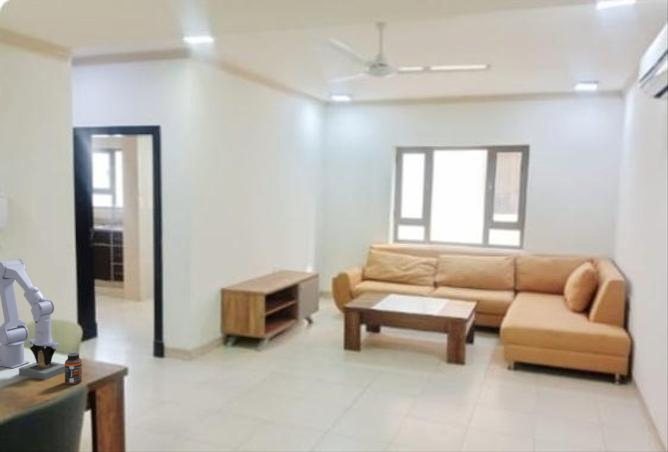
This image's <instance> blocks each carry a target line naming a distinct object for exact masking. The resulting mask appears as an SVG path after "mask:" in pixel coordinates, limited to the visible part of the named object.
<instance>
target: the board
mask: <svg viewBox="0 0 668 452" xmlns="http://www.w3.org/2000/svg"><path fill="white" fill-rule="evenodd" d="M63 373H64V374H65V363H59V362H55V361H51V364H49V367H47V368H45V369H40V368H38V364H37V362H36V361H35V362H33V363H29V364H28V365H25V366H22V367H18V374H19V376H25V377H30V378H33V379H39V380H45V381H47V380H48V379H51V378H53V377H56V376H59V375H61V374H63Z"/></svg>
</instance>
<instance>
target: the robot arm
mask: <svg viewBox="0 0 668 452" xmlns="http://www.w3.org/2000/svg"><path fill="white" fill-rule="evenodd" d="M26 270H27V266H26V264H25V262H24V261H23V260H22V259H19V258H18V259H14V260H13V259H12V260H5V261H0V302H1V307H2V313H3V314H2V315H3V319H4V322H3V324H1V325H0V367H5V368H9V369H15V368H17V367H18V368H19V366H23V365H26V364H28V363H29V364H30V361H29V360H25V343H26V340H27V339H28V340H27V345H32V346H30V347H29V350H30V351H31V352H32V354H33V355H34V356H33V357H34V359H35V363H36V362H37V364H38V352H39V351H42V352H43V355H44V362H45V365H49V364H51V362H52V359H53V357H54V354H55V351H56V350H57V349H59V348H60V344H59V342H56V341H54V338H52V316H51V315H52V314H53V313H54V312H55V305H54V302H53V301H52V300H51V299H48V298H46V297H45V296H44V294H43V293H42V291H41V290H40V289H39V287H37V286H34V284H33V283H32V281H31V280H30V278H29V276H28V274H27V272H26ZM15 281H16V283H17V284H18V285H19V286H20V287H21V288H22V290H23V291H24V292H23V296H24V298H25V300H26V301H27V303H28V304H29V305H30V307H31V309H30V312H31V315H32V320H33V321H34V338H29V336H30V335H29V334H30V331H29V329H28V328H27V327H28V326H27V325H26V322H25V321H23V320H21V319H20V318H19V311H18V306H17V299H16V294H15V289H14V282H15Z"/></svg>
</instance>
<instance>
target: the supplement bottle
mask: <svg viewBox="0 0 668 452" xmlns="http://www.w3.org/2000/svg"><path fill="white" fill-rule="evenodd" d="M64 364H65V372H64V383H65V385H69V386H71V385H72V386H73V385H77V384H81V383H82V380H83V361H82V358H80V353H78V352H70V353H68V354H67V359H66V360H65V362H64Z"/></svg>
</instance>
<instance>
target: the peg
mask: <svg viewBox="0 0 668 452" xmlns="http://www.w3.org/2000/svg"><path fill="white" fill-rule="evenodd" d="M47 367H49V365H45V362H44V355H43V352H42V351H39V352H38V368H40V369H45V368H47Z"/></svg>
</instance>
